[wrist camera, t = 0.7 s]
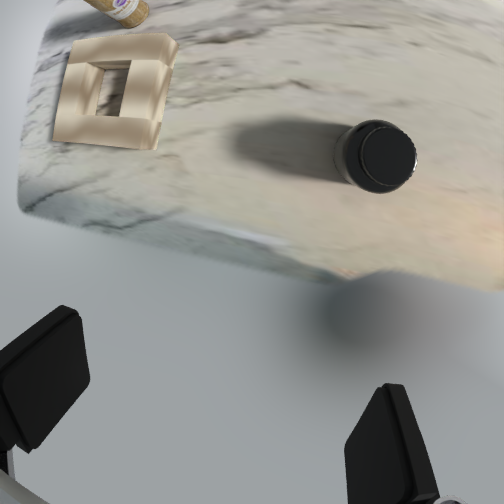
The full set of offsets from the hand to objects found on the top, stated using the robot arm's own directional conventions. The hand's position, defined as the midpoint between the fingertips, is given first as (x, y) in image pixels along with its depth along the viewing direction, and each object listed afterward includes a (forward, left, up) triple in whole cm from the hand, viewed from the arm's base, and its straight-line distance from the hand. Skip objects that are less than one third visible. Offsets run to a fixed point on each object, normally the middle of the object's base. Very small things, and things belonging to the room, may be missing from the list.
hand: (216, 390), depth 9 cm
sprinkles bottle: (-24, -24, -29) cm, 45 cm away
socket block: (-12, -23, -29) cm, 39 cm away
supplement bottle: (-9, +8, -29) cm, 32 cm away
